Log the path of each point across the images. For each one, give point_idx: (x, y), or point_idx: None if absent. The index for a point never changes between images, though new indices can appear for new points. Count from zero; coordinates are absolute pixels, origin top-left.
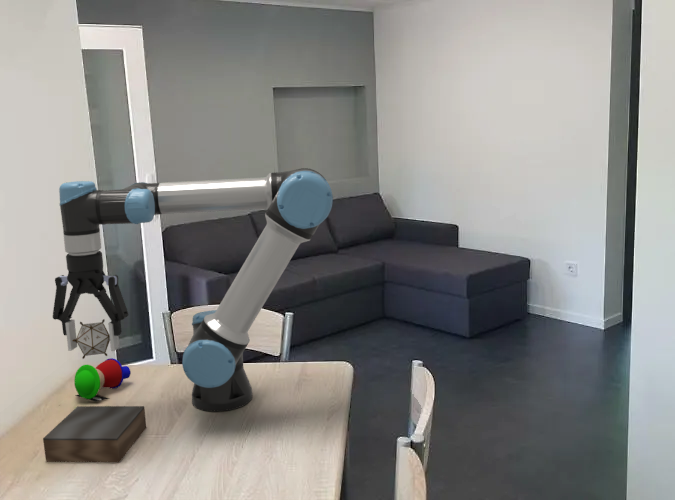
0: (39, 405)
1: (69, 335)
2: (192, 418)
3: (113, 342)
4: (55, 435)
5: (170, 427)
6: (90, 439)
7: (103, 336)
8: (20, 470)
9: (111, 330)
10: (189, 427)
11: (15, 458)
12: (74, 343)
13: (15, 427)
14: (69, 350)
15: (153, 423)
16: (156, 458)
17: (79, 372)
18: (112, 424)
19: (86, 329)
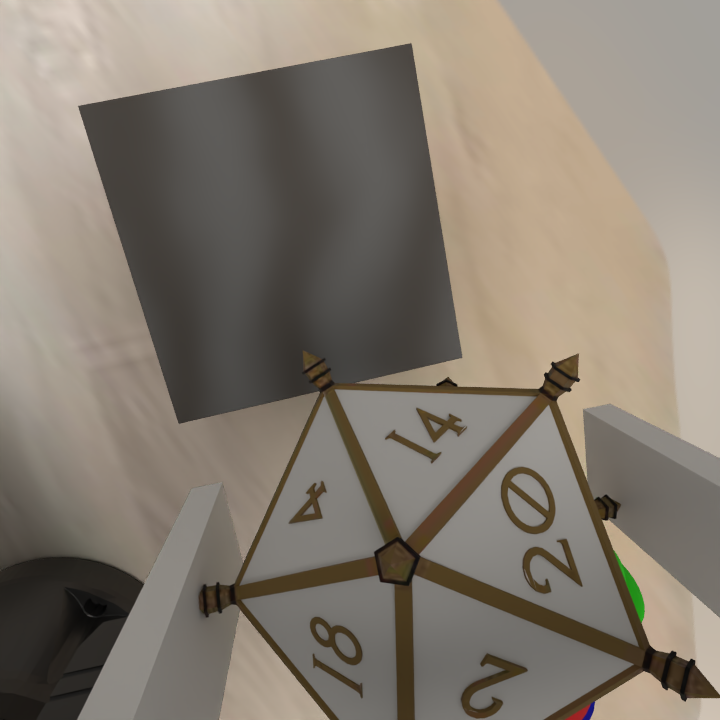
0: None
1: (693, 469)
2: (80, 498)
3: (170, 537)
4: (376, 82)
5: (115, 419)
6: (201, 84)
7: (272, 555)
8: (443, 8)
9: (126, 639)
10: (44, 435)
11: (517, 87)
12: (612, 485)
13: (658, 294)
14: (601, 406)
15: (198, 431)
16: (4, 193)
17: None
18: (196, 233)
19: (493, 545)
